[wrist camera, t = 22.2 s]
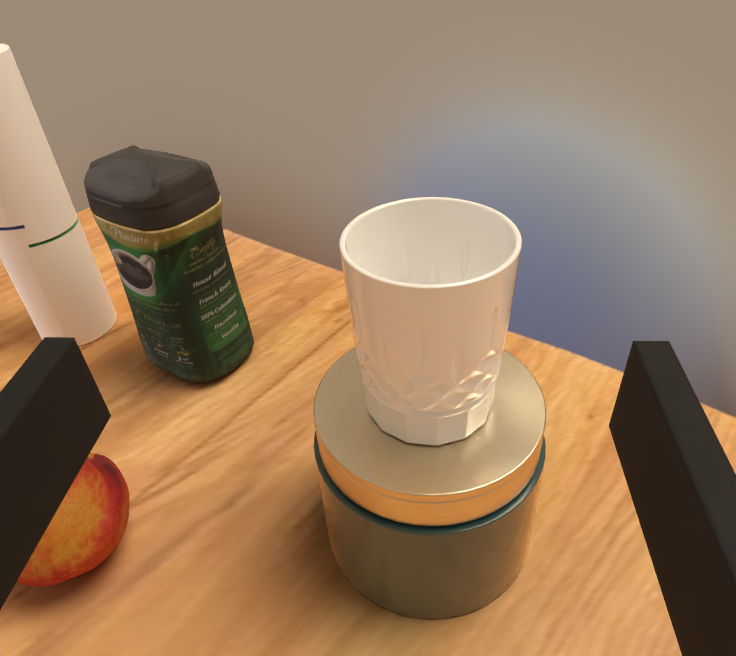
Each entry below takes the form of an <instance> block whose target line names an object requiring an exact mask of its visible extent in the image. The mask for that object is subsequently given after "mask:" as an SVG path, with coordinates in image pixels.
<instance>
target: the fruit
mask: <svg viewBox="0 0 736 656" xmlns="http://www.w3.org/2000/svg"><path fill="white" fill-rule="evenodd" d="M128 517H129V491H128V486H127V484H126V482H125V479H124V478H123V476H122V474H121V472H120V470H119V469H118V467H117V466H116V465H115V463H113V462H112V461H111V460H110V459H108V458H107V457H105V456H102V455H99V454H91V453H89V455H88V457H87V459H86V460H85V462H84V464H83V466H82V467H81V469H80V471H79V473H78V475H77V476H76V478H75V480H74V482H73V483H72V485H71V487H70V489H69V490H68V492H67V494H66V496H65V497H64V499H63V501H62V503H61V504H60V506H59V508H58V510H57V511H56V513H55V515H54V517H53V518H52V520H51V522H50V524H49V525H48V527H47V529H46V531H45V533H44V534H43V536H42V538H41V540H40V541H39V543H38V545H37V547H36V548H35V550H34V552H33V554H32V555H31V557H30V559H29V561H28V562H27V564H26V566H25V568H24V569H23V571H22V573H21V575H20V576H19V578H18V580H17V581H18V582H21V583H23V584H25V585H30V586H38V587H42V586H50V585H55V584H57V583H60V582H62V581H65V580H68V579H71V578H73V577H76V576H79V575H81V574H83V573H86V572H88V571H90V570H91V569H93V568H95V567H96V566H98V565H99V564H100V563H101V562H102V561H104V560H105V559H106V558H107V557H108V556H109V555H110V554H111V553H112V552H113V551H114V550H115V549H116V547H117V545H118V544H119V542H120V540H121V538H122V535H123V533H124V530H125V528H126V525H127V521H128Z"/></svg>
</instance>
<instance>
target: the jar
mask: <svg viewBox="0 0 736 656" xmlns="http://www.w3.org/2000/svg"><path fill="white" fill-rule="evenodd" d="M314 452H315V460H316V466H317V471H318V477H319V483H320V488H321V494H322V500H323V506H324V511H325V517H326V523H327V528H328V534H329V540H330V544H331V548H332V552H333V555H334V557H335V559H336V562H337V564H338V566H339V568H340V569H341V571H342V572H343V574H344V576H345V577H346V578H347V579H348V581H349V582H350V583H351V584H352V585H353V586H354V587H355V588H356V589H357V590H358V591H359V592H360V593H361V594H362V595H364V596H365V597H366V598H368V599H369V600H371V601H372V602H374V603H375V604H377V605H379V606H381V607H383V608H385V609H387V610H390V611H392V612H395V613H398V614H401V615H405V616H410V617H415V618H424V619H442V618H451V617H456V616H461V615H464V614H467V613H470V612H473V611H476V610H478V609H480V608H482V607H484V606H486V605H488V604H489V603H490V602H492V601H493V600H495V599H496V598H498V597H499V596H500V595H501V594H502V593H503V592H504V591H505V590H506V589H507V588H508V587H509V586H510V585H511V584H512V582H513V581H514V580H515V578H516V577H517V575H518V573H519V572H520V570H521V568H522V566H523V563H524V561H525V558H526V555H527V550H528V545H529V540H530V534H531V529H532V524H533V518H534V513H535V508H536V503H537V497H538V492H539V487H540V482H541V476H542V471H543V466H544V461H545V439H544V435H543V441H542V446H541V452H540V457H539V462H538V464H537V467H536V469H535V472H534V474H533V476H532V477H531V479H530V481H529V482H528V484H527V485H526V486H525V487H524V489H523V490H522V491H521V492H520V493H519V494H518V495H517V496H516V497H515V498H513V499H512V500H511V501H510V502H509V503H508V504H506V505H504V506H503V507H501V508H500V509H498V510H496V511H495V512H493V513H490V514H488V515H486V516H484V517H481V518H478V519H475V520H472V521H468V522H465V523H459V524H454V525H445V526H420V525H411V524H406V523H400V522H396V521H393V520H390V519H386V518H383V517H381V516H379V515H376V514H374V513H372V512H369V511H368V510H366V509H364V508H363V507H361V506H359V505H358V504H356V503H355V502H353V501H352V500H351V499H350V498H348V497H347V496H346V495H345V494H344V493H343V492H342V491H341V490H340V489H339V488H338V487H337V486H336V485H335V483H334V482H333V481H332V479H331V478H330V476H329V475H328V473H327V471H326V469H325V467H324V465H323V463H322V459H321V456H320V453H319V447H318V441H317V435H316V431H315V436H314Z"/></svg>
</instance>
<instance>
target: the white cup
mask: <svg viewBox="0 0 736 656" xmlns="http://www.w3.org/2000/svg"><path fill="white" fill-rule="evenodd" d="M339 244H340V245H339V246H340V253H341V259H342V265H343V272H344V278H345V284H346V291H347V298H348V304H349V311H350V318H351V324H352V331H353V337H354V343H355V348H356V353H357V358H358V363H359V367H360V369H361V372H362V376H363V382H364V388H365V395H366V402H367V409H368V412H369V413H370V415H371V416H372V417H373V419H374V420H375V421H376V423H377V424H378V425H379V427H380V428H381V429H382V430H383V431H385V432H387V433H389V434H391V435H393V436H395V437H397V438H399V439H401V440H403V441H405V442H407V443H415V444H425V445H435V446H437V445H441V444H445V443H449V442H453V441H457V440H461V439H464V438H466V437H467V436H469V435H470V434H471V433H472V432H474V431H475V430H476V429H478V428H479V427H480V426H481V425H483V424H484V423H485V421H486V419H487V416H488V413H489V410H490V408H491V405H492V402H493V397H494V390H495V384H496V378H497V377H498V374H499V370H500V366H501V360H502V355H503V350H504V346H505V341H506V336H507V330H508V324H509V318H510V312H511V305H512V299H513V293H514V286H515V281H516V275H517V269H518V262H519V257H520V251H521V245H522V239H521V235H520V232H519V230H518V229H517V227H516V226H515V224H514V223H513V222H512V221H511V220H510V219H509V218H507V217H506V216H505V215H503V214H501V213H500V212H498V211H496V210H494V209H492V208H490V207H487V206H485V205H482V204H478V203H475V202H471V201H466V200H461V199H454V198H442V197H423V198H411V199H404V200H399V201H394V202H390V203H386V204H383V205H380V206H377V207H375V208H372V209H370V210H368V211H366V212H364V213H362V214H361V215H359V216H358V217H356V218H355V219H354V220H352V221H351V222H350V223H349V224H348V225H347V227H346V228H345V229H344V231H343V232H342V234H341V237H340V243H339Z"/></svg>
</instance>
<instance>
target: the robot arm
mask: <svg viewBox="0 0 736 656" xmlns="http://www.w3.org/2000/svg"><path fill="white" fill-rule="evenodd" d="M110 417H111V415H110V413H109V411H108V408H107V406H106V404H105V402H104V400H103V398H102V396H101V393H100V391H99V389H98V387H97V385H96V383H95V381H94V379H93V376H92V374H91V372H90V370H89V368H88V366H87V364H86V361H85V359H84V357H83V355H82V353H81V351H80V349H79V347H78V344H77V342H76V340H75V338H74V337H44V339H43V340H42V341H41V342H40V344H39V345H38V346H37V347H36V349H35V350H34V351H33V352H32V354H31V355H30V356H29V357H28V359H27V360H26V361H25V362H24V364H23V365H22V366H21V367H20V369H19V370H18V371H17V372H16V374H15V375H14V376H13V377H12V379H11V380H10V381H9V382H8V384H7V385H6V386H5V387H4V389H3V390H2V391H1V392H0V610H1V608H2V606H3V605H4V603H5V601H6V599H7V598H8V596H9V594H10V592H11V591H12V589H13V587H14V585H15V583H16V582H17V580H18V578H19V576H20V575H21V573H22V571H23V569H24V568H25V566H26V564H27V562H28V561H29V559H30V557H31V555H32V554H33V552H34V550H35V548H36V547H37V545H38V543H39V541H40V540H41V538H42V536H43V534H44V533H45V531H46V529H47V527H48V525H49V524H50V522H51V520H52V518H53V517H54V515H55V513H56V511H57V510H58V508H59V506H60V504H61V503H62V501H63V499H64V497H65V496H66V494H67V492H68V490H69V489H70V487H71V485H72V483H73V482H74V480H75V478H76V476H77V475H78V473H79V471H80V469H81V467H82V466H83V464H84V462H85V460H86V459H87V457H88V455H89V453H90V452H91V450H92V448H93V446H94V445H95V443H96V441H97V439H98V438H99V436H100V434H101V432H102V431H103V429H104V427H105V425H106V424H107V422H108V420H109V418H110ZM609 428H610V431H611V434H612V437H613V440H614V443H615V446H616V450H617V453H618V456H619V459H620V462H621V465H622V468H623V471H624V475H625V478H626V481H627V484H628V487H629V490H630V493H631V497H632V500H633V503H634V506H635V509H636V512H637V515H638V518H639V522H640V525H641V528H642V531H643V534H644V537H645V540H646V544H647V547H648V550H649V553H650V556H651V559H652V562H653V565H654V569H655V572H656V575H657V578H658V581H659V584H660V587H661V591H662V594H663V597H664V600H665V603H666V606H667V609H668V612H669V616H670V619H671V622H672V625H673V628H674V631H675V634H676V638H677V641H678V644H679V647H680V650H681V653H682V656H736V474H735V472H734V470H733V468H732V466H731V464H730V462H729V460H728V458H727V456H726V454H725V452H724V450H723V448H722V446H721V444H720V442H719V440H718V438H717V436H716V434H715V432H714V430H713V428H712V426H711V424H710V422H709V420H708V418H707V416H706V414H705V412H704V410H703V408H702V406H701V404H700V402H699V400H698V398H697V396H696V394H695V393H694V390H693V389H692V387H691V384H690V382H689V380H688V378H687V376H686V374H685V372H684V370H683V368H682V367H681V364H680V362H679V360H678V358H677V356H676V354H675V352H674V350H673V348H672V346H671V344H670V342H669V341H633V344H632V348H631V351H630V354H629V357H628V361H627V364H626V368H625V371H624V375H623V378H622V382H621V385H620V389H619V392H618V396H617V399H616V403H615V406H614V410H613V413H612V417H611V420H610V424H609Z"/></svg>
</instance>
